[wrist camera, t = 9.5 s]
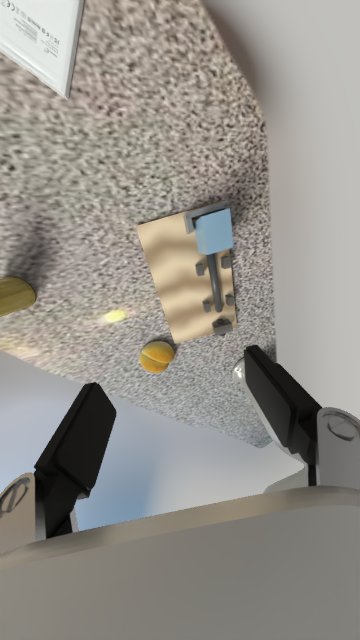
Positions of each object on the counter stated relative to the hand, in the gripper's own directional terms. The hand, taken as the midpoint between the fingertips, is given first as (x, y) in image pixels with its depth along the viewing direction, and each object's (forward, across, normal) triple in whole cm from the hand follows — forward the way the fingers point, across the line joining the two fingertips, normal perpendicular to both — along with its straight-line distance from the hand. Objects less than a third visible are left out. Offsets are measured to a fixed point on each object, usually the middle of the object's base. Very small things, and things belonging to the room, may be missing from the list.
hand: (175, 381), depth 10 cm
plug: (+25, -9, -1) cm, 26 cm away
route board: (+26, -5, 0) cm, 26 cm away
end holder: (+24, -9, -11) cm, 28 cm away
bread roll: (+26, +8, +16) cm, 32 cm away
